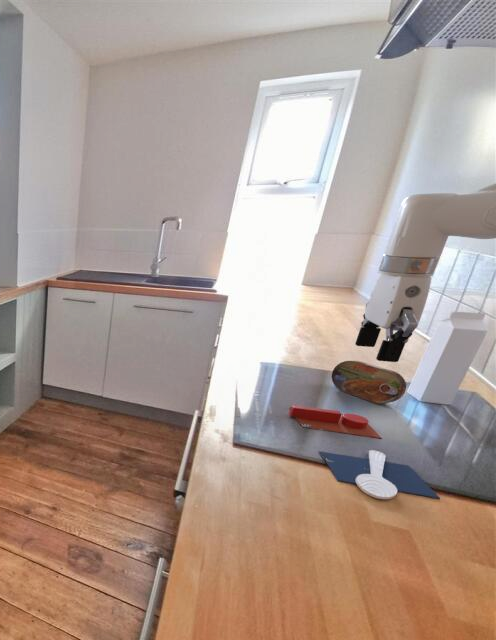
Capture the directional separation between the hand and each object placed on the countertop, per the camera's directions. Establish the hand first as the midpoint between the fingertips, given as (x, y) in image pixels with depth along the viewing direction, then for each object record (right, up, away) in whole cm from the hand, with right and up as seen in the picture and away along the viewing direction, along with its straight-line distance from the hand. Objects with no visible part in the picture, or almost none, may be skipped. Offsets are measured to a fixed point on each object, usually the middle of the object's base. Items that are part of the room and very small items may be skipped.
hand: (374, 353), depth 83 cm
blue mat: (-8, -23, -8) cm, 25 cm away
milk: (+33, -10, +20) cm, 40 cm away
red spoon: (-1, -15, +9) cm, 17 cm away
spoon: (-8, -23, -9) cm, 26 cm away
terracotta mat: (-1, -15, +9) cm, 18 cm away
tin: (+17, -10, +22) cm, 29 cm away
